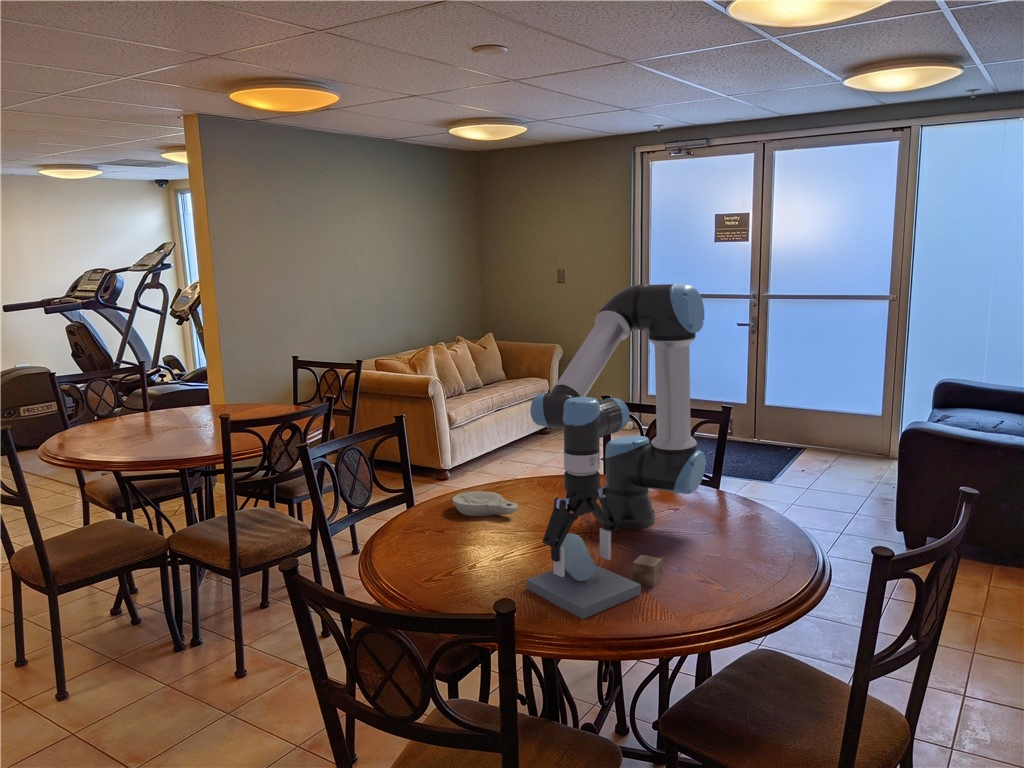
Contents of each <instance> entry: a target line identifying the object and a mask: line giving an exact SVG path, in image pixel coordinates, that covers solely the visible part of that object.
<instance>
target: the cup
mask: <svg viewBox="0 0 1024 768" xmlns="http://www.w3.org/2000/svg"><path fill="white" fill-rule="evenodd" d="M557 540H558V539H557ZM557 540H556V541H557ZM562 546H564V564H565V570H566V571H567V572H568V573H569V574H570V575H571V576H572V577H573V578H574V579H576V580H578V581H585V580H588V579H589V578H590V577H591V576H592V575H593V573H594V571H595V565H596V564H595V562H594V560H593V558H592V556H591V554H590V551H589V550H588V548H587V546H586V544H585V541H584V540H583V538H582V537H581V536H580V535H578V534H576V533H567V535H566V537H565V539H564V541H563V543H562Z"/></svg>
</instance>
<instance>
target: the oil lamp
mask: <svg viewBox="0 0 1024 768" xmlns="http://www.w3.org/2000/svg"><path fill="white" fill-rule="evenodd" d="M451 501H452V503H453V506H454V507H455V508H456V510H457V511H458V512H459V513H460V514H462V515H464V516H467V517H487V516H488V517H489V516H495V515H496V516H500V515H501V516H504V515H506V516H507V515H511V514H514V513H515V512H516V511H517V510H518V508H519V504H517V503H516V502H513V501H510V500H506V498H504V497H503V496H502V495H501V494H499V493H498V492H493V491H484V490H483V491H480V490H476V491H475V490H472V491H466V492H461V493H459V494H458V493H457V494H456V495H454V496H453V497H452V500H451Z"/></svg>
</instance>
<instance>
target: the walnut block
mask: <svg viewBox="0 0 1024 768" xmlns="http://www.w3.org/2000/svg"><path fill="white" fill-rule="evenodd" d="M662 579H663V558H660V557H655V556H650V555H645V554H640V555H639V556H638V557H637V558H635V560H634V561H632V581H634V582H636V583H638V584H641V585H644V586H649V587H652V588H655V586H656V585H658V583H659V582H660V581H661V580H662Z"/></svg>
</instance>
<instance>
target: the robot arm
mask: <svg viewBox="0 0 1024 768" xmlns="http://www.w3.org/2000/svg"><path fill="white" fill-rule="evenodd" d="M703 301H704V300H703V299H702V296H701V294H700V292H699V291H698V289H697V288H696V287H695V286H692V285H690V284H680V283H672V284H671V283H670V284H669V283H668V284H644V283H643V284H635V285H631V286H629V287H626V288H624V289H623V290H621V291H619V292H618V293H617V294H615V295H613V296H612V297H611V298H610V299H609V300H608V301H607V302H606V303H605V304H604V305H603V306H602V308H601V309H599V311H598V313H597V314H596V316H595V318H594V326H593V327H592V329H591V330H590V332H589V333H588V335H587V337H585V340H584V341H583V343H582V344H581V346H580V347H579V349H578V350H577V352H576V353H575V355H574V356H573V358H572V359H571V361H570V362H569V364H568V365H567V367H566V368H565V369H564V371H563V373H562V374H561V376H560V378H559V379H558V380H557V382H556V384H555V385H554V386H553V388H552V389H551V391H550V392H549V393H540V394H538V395H536V396H535V397H534V398H533V399H532V402H531V404H530V410H529V411H530V412H529V413H530V417H531V419H532V421H533V423H535V425H537V426H540V427H545V428H549V429H559V430H560V429H561V430H563V445H564V446H563V469H564V470H565V471H564V474H563V477H564V478H563V479H564V480H563V481H564V482H563V483H564V484H563V486H564V489H565V492H566V495H565V498H560V497H555V498H554V500H553V510H552V513H551V514H550V518H549V521H548V525H547V527H546V530H545V533H544V536H543V538H542V543H543V544H544V545H547V546H548V547H550V559H551V560H552V563H553V565H552V566H553V569H552V570H553V573H554V574H556V575H559V576H561V577H564V576H565V564H564V546H562V543H563V541H564V539H565V537H566V535H567V534H569V531H570V529H571V528H572V526H573V524H574V522H575V521H576V520H578V518H579V517H581V516H584V515H586V514H592V516H593V517H595V519H596V520H597V521H598V522H599V524H600V525H601V526H602V527H601V528H599V557H600V558H601V559H605V560H607V561H610V560H612V543H613V532H615V531H616V530H617V529H618V530H619V529H621V530H639V529H644V528H649V527H650V526H652V525H653V524H654V523H655V522H656V513H655V509H654V508H653V505H652V501H651V497H650V493H649V491H650V489H651V490H657V491H662V492H668V493H673V494H677V495H678V494H680V495H691V494H693V493H694V492H695V491H697V490H698V489H699V486H700V485H701V483H702V480H703V478H704V475H705V469H706V465H707V464H706V463H707V462H706V461H707V460H706V455H705V453H704V452H703V451H701V450H700V449H699V450H698V445H697V440H696V439H695V438H694V437H693V436H692V435H691V370H690V369H691V367H690V366H691V365H690V364H691V363H690V362H691V361H690V345H691V344H692V343H693V342H694V340H695V339H696V336H697V335H696V333H699V332H700V331H701V330H702V328H703V326H704V321H705V306H704V302H703ZM634 331H635V332H636V331H647V332H648V335H647V336H648V341H649V342H651V343H652V344H653V345H654V363H655V364H654V368H655V370H654V371H655V379H654V380H655V412H656V413H655V415H656V418H655V420H656V421H655V422H656V436H655V437H654V438H653V439H652V440H651V442H650V438H648V436H644V435H643V436H642V435H632V436H621V437H617V438H614V439H611V440H609V441H608V442H607V444H606V445H605V455H604V459H605V486H602V485H601V478H600V477H601V473H600V467H601V466H600V461H601V460H600V453H601V452H600V451H601V450H600V439H601V438H603V437H606V436H608V435H611V434H615V433H617V432H619V431H620V430H622V429H624V428H626V426H627V425H628V424H629V420H630V410H629V407H628V406H627V404H626V402H625V401H623V400H622V399H621V398H618V397H607V398H604V399H597V398H596V397H591V396H587V395H588V393H589V392H590V390H591V389H592V387H593V385H594V384H595V382H596V381H597V379H598V377H599V376H600V375H601V373H602V371H603V370H604V368H605V366H606V365H607V364H608V361H609V360H610V358H611V356H612V355H613V353H614V352H615V351H616V349H617V348H618V346H619V344H620V343H621V341H624V340H626V339H628V337H629V336H630V334H631V333H632V332H634ZM597 501H599V503H600V504H598V503H597ZM600 505H601V506H600ZM557 539H558V540H557ZM556 540H557V541H556Z"/></svg>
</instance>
